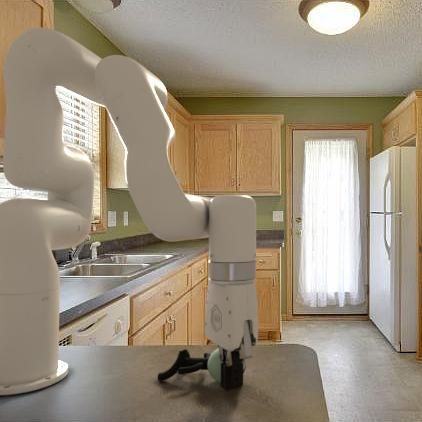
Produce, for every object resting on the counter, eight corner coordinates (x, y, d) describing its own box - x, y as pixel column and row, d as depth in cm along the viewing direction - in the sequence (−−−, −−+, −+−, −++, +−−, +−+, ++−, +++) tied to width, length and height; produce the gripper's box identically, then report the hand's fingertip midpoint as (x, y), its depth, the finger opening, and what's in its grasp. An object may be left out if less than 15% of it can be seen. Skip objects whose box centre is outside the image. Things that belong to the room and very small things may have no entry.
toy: (153, 389, 65) (236, 392, 61) (152, 353, 65) (234, 354, 61) (183, 370, 74) (256, 371, 70) (181, 338, 74) (254, 338, 71)
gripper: (192, 268, 65) (191, 377, 65) (233, 280, 53) (233, 413, 53) (231, 265, 70) (230, 367, 69) (278, 275, 58) (277, 398, 57)
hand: (231, 387), depth 61 cm, fingers closed
